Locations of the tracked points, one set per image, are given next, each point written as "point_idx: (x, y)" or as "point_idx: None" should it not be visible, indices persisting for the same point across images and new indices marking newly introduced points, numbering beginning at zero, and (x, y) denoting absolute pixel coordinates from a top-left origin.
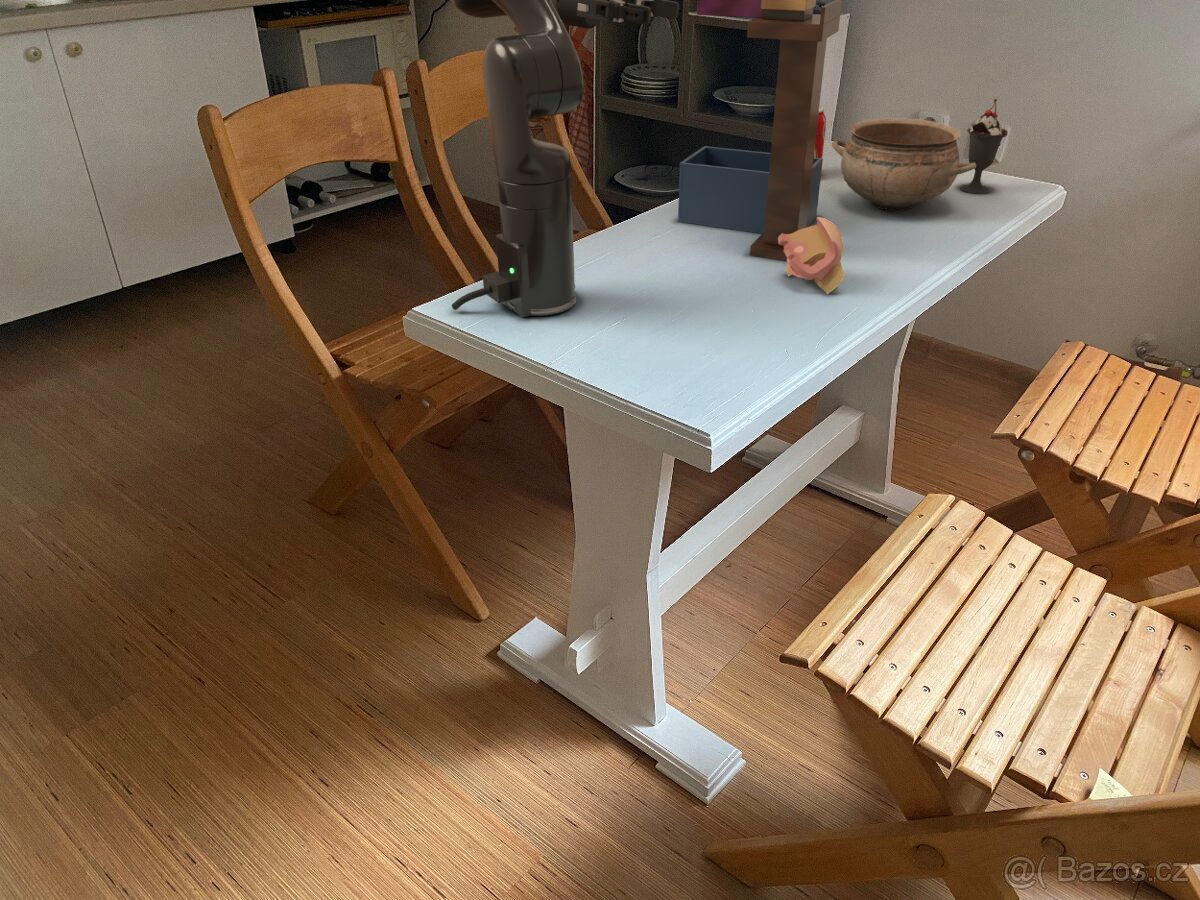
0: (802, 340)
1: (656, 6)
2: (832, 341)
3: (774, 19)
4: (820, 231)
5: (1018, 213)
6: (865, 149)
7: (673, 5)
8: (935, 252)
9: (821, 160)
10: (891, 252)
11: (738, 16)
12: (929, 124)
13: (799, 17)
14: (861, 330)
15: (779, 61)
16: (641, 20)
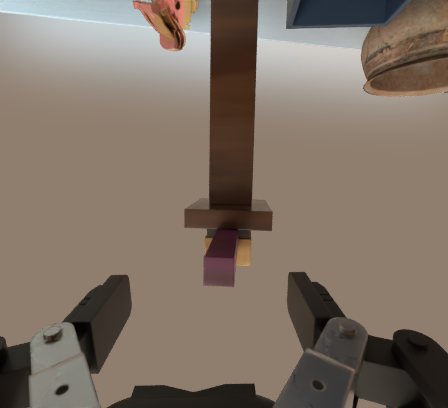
0: (61, 4)
1: (310, 340)
2: (81, 16)
3: None
4: (171, 38)
5: None
6: (398, 55)
7: (290, 307)
8: (285, 31)
9: (378, 25)
10: (274, 12)
11: (214, 235)
12: None
13: None
14: (113, 23)
15: (209, 178)
16: (97, 289)
